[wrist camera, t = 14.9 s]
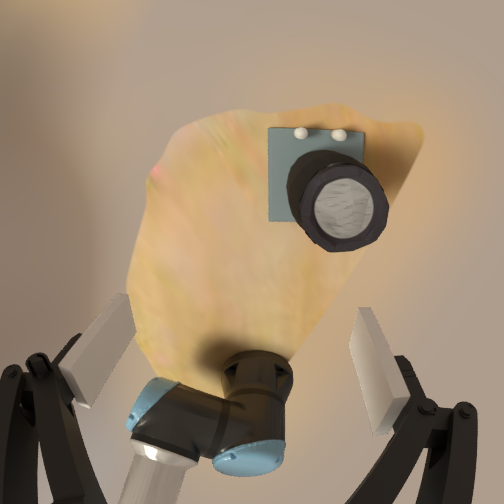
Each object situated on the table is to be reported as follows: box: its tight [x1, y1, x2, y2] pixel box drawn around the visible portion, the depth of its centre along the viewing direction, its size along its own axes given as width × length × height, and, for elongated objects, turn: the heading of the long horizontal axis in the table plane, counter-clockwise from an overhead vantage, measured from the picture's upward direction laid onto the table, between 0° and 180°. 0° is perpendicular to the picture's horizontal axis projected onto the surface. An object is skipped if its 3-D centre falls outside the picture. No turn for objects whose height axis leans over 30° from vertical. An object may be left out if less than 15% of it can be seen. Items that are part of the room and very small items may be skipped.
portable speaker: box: [286, 150, 389, 252], centre depth 32 cm, size 9×9×20 cm
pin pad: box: [268, 127, 364, 222], centre depth 40 cm, size 14×14×5 cm
